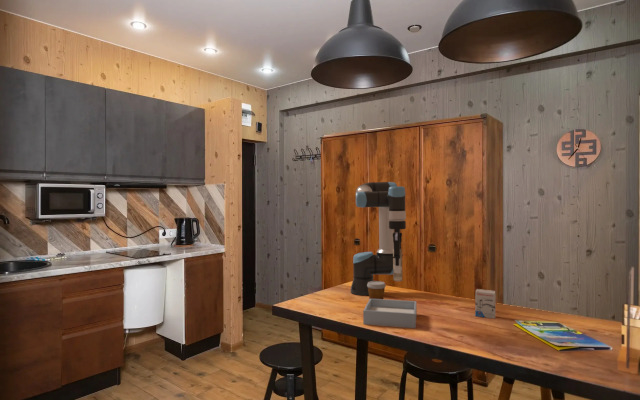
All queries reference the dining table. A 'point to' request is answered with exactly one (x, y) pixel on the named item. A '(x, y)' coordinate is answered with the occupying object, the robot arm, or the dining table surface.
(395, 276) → the beech dowel
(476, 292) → the ink box
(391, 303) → the socket box
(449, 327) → the dining table surface
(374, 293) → the disposable coffee cup
